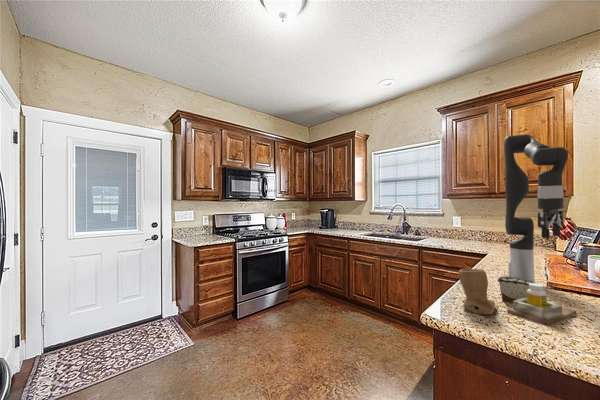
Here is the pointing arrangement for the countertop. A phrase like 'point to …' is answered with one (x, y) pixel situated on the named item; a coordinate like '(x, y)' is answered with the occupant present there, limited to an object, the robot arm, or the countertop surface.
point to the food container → (513, 288)
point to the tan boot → (476, 291)
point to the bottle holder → (541, 312)
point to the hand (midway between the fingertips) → (551, 237)
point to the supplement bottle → (536, 295)
